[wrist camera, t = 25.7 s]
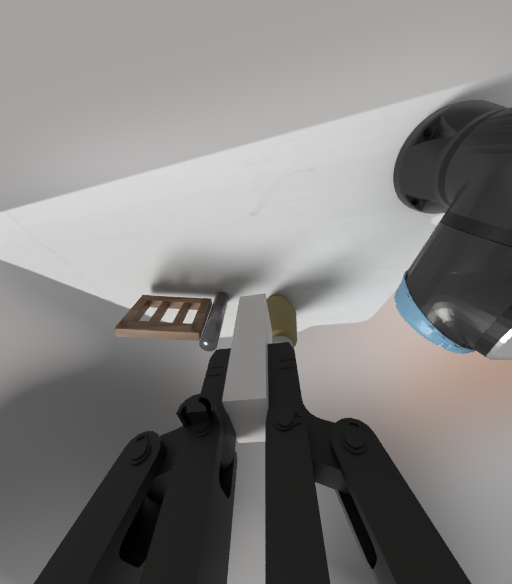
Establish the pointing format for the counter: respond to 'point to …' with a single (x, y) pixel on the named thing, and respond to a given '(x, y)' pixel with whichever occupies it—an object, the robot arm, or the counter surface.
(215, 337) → the gate post
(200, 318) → the gate
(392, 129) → the counter surface
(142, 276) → the counter surface
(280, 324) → the squeeze bottle
